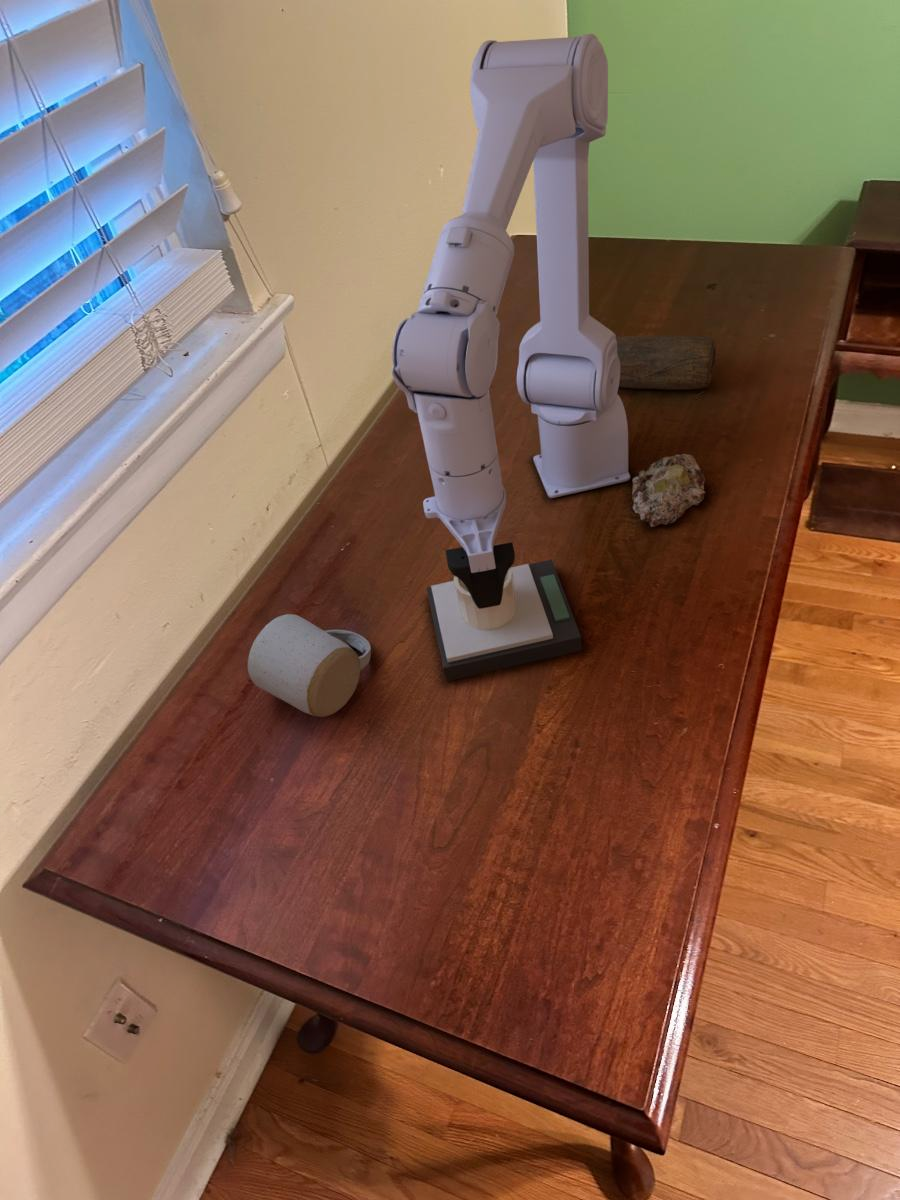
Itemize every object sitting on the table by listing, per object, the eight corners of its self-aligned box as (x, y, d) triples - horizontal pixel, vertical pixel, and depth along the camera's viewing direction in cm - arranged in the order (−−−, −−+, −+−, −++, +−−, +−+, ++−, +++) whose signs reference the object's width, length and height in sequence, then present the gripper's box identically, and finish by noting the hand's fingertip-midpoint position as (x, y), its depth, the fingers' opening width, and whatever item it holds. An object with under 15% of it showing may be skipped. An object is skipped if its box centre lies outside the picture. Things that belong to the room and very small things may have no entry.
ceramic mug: (323, 737, 77) (301, 683, 72) (260, 703, 81) (234, 649, 76) (394, 659, 83) (378, 604, 77) (332, 630, 87) (313, 576, 81)
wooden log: (714, 370, 109) (718, 321, 104) (711, 400, 104) (715, 351, 99) (597, 369, 113) (595, 323, 108) (589, 399, 108) (586, 351, 104)
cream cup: (493, 581, 84) (488, 547, 81) (528, 609, 81) (524, 575, 78) (449, 608, 82) (442, 575, 79) (483, 638, 79) (477, 605, 76)
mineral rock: (642, 445, 96) (711, 441, 91) (652, 476, 99) (720, 473, 94) (607, 506, 90) (679, 505, 85) (619, 537, 93) (690, 537, 88)
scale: (552, 573, 87) (551, 554, 86) (582, 650, 80) (580, 632, 78) (429, 601, 87) (425, 583, 86) (446, 681, 80) (442, 663, 78)
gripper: (408, 415, 74) (433, 532, 84) (420, 520, 64) (448, 640, 73) (487, 400, 74) (504, 519, 84) (513, 503, 64) (529, 625, 73)
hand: (483, 575), depth 78 cm, fingers open, 7 cm apart
